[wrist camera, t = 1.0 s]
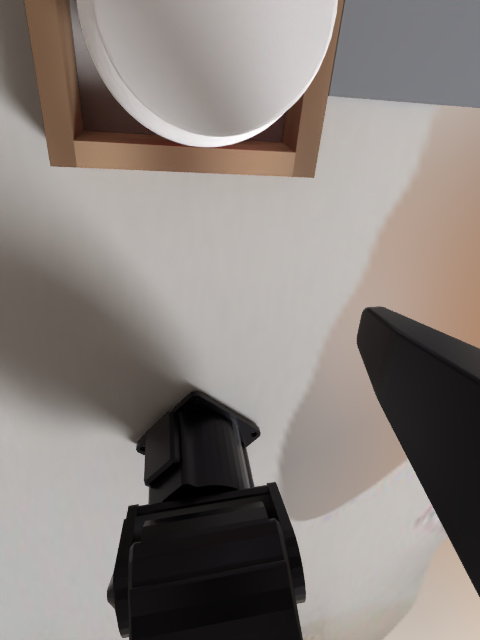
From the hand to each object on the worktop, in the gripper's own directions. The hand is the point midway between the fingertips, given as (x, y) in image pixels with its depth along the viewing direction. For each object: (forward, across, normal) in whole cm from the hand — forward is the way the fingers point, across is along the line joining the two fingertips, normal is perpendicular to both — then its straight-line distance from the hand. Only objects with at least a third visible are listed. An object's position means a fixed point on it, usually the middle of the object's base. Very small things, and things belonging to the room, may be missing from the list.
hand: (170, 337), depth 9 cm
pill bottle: (+13, -1, -6) cm, 15 cm away
